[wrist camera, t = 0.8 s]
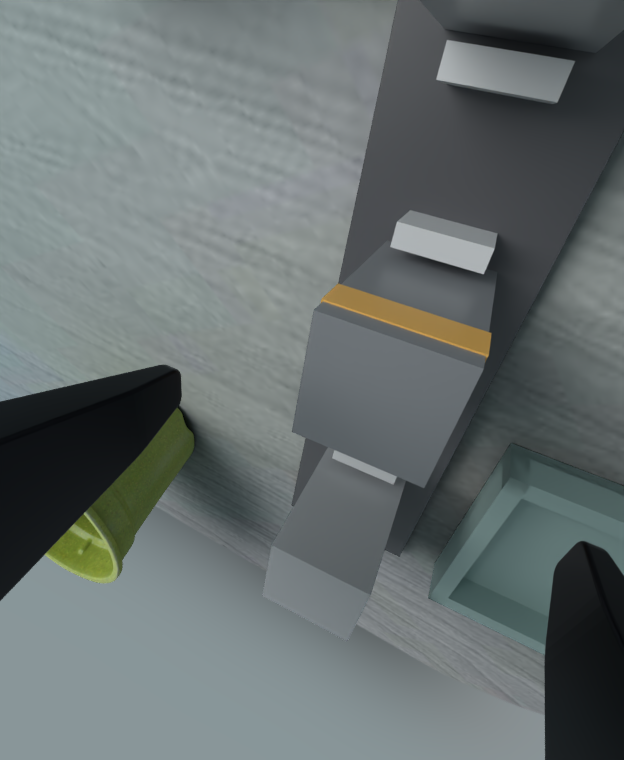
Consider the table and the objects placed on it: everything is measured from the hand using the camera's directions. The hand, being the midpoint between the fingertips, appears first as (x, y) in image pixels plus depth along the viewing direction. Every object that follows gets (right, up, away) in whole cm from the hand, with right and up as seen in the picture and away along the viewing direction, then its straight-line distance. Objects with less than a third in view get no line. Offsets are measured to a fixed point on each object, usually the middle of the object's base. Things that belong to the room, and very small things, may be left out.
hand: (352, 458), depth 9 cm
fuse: (+3, +5, +7) cm, 9 cm away
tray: (+12, -7, +11) cm, 17 cm away
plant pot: (-11, -1, +19) cm, 22 cm away
